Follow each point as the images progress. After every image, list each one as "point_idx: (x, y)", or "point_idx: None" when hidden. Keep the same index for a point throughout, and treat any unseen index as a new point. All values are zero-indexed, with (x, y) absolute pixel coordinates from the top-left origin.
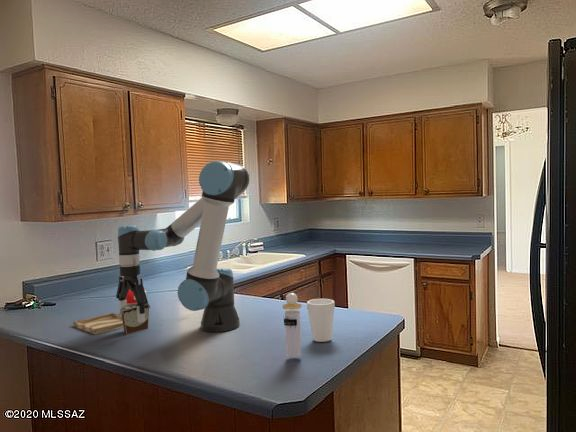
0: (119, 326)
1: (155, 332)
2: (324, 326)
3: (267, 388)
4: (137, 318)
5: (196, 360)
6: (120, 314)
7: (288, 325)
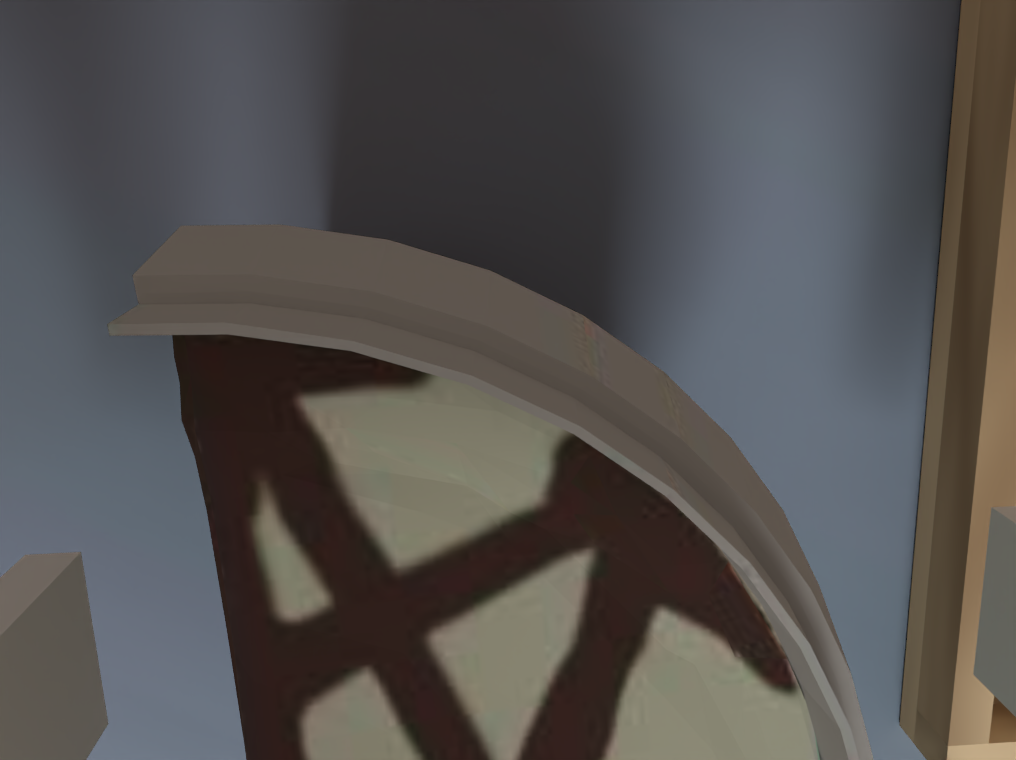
0: (947, 415)
1: None
2: None
3: None
4: (18, 608)
5: None
6: (320, 230)
7: None
